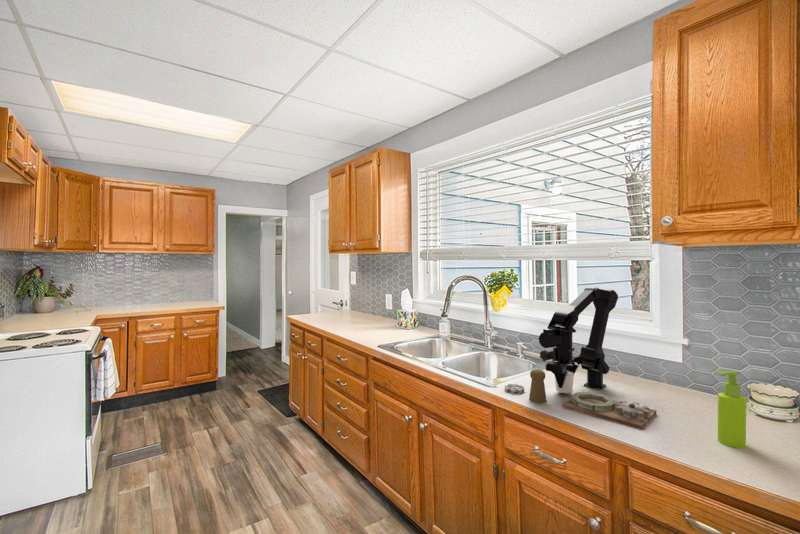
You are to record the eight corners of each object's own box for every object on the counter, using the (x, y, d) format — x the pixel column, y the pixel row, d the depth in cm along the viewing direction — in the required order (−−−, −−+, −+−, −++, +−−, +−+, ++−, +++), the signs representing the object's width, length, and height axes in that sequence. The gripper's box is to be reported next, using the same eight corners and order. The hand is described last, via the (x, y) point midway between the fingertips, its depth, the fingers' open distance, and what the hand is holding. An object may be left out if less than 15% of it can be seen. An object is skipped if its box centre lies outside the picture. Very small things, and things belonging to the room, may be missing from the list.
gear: (507, 386, 152) (507, 382, 152) (525, 389, 149) (525, 385, 149) (503, 392, 146) (503, 388, 146) (522, 395, 143) (522, 391, 142)
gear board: (580, 395, 142) (581, 384, 142) (656, 414, 124) (656, 402, 124) (562, 407, 131) (562, 395, 131) (642, 429, 113) (642, 416, 113)
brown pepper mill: (548, 404, 134) (548, 373, 133) (530, 402, 135) (530, 372, 135) (545, 397, 140) (545, 368, 139) (527, 396, 141) (527, 367, 141)
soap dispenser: (708, 438, 108) (709, 368, 107) (731, 437, 108) (731, 367, 108) (728, 448, 102) (729, 375, 101) (751, 447, 102) (752, 374, 102)
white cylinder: (551, 390, 143) (551, 372, 143) (558, 386, 148) (558, 368, 148) (570, 395, 138) (570, 376, 138) (576, 390, 143) (576, 371, 143)
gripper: (554, 337, 155) (554, 375, 155) (532, 345, 142) (532, 386, 143) (582, 342, 147) (582, 381, 147) (561, 350, 134) (561, 394, 135)
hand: (564, 385), depth 143 cm, fingers closed on white cylinder, 6 cm apart
